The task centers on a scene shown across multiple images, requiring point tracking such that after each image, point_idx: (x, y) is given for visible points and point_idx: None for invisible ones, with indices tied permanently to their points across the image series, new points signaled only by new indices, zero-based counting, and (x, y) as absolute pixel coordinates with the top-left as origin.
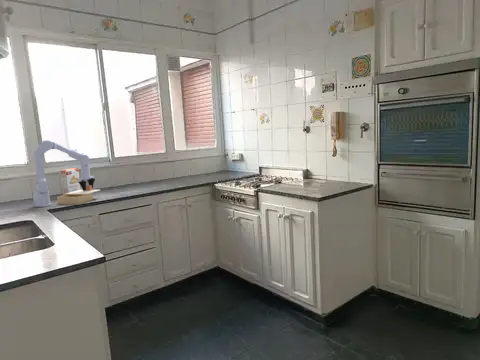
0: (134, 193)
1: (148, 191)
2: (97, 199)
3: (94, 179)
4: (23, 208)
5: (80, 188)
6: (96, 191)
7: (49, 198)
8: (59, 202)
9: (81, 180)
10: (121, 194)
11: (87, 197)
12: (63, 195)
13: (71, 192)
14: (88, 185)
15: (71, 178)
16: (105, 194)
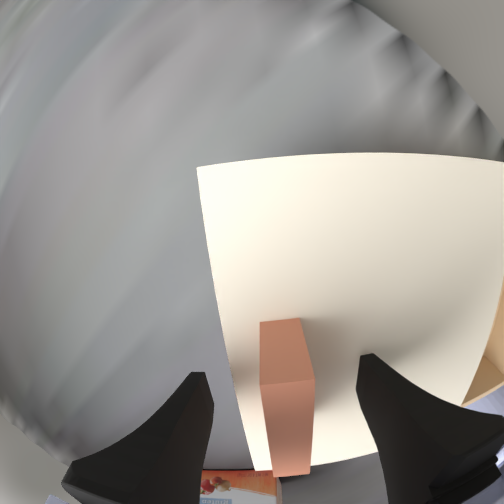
0: (41, 18)
1: (8, 11)
2: (336, 123)
3: (82, 479)
4: None
5: None
6: (315, 156)
7: (500, 403)
8: (492, 348)
9: (488, 488)
10: (59, 78)
11: None
12: (472, 400)
13: None
14: (282, 430)
15: None
16: (78, 270)
